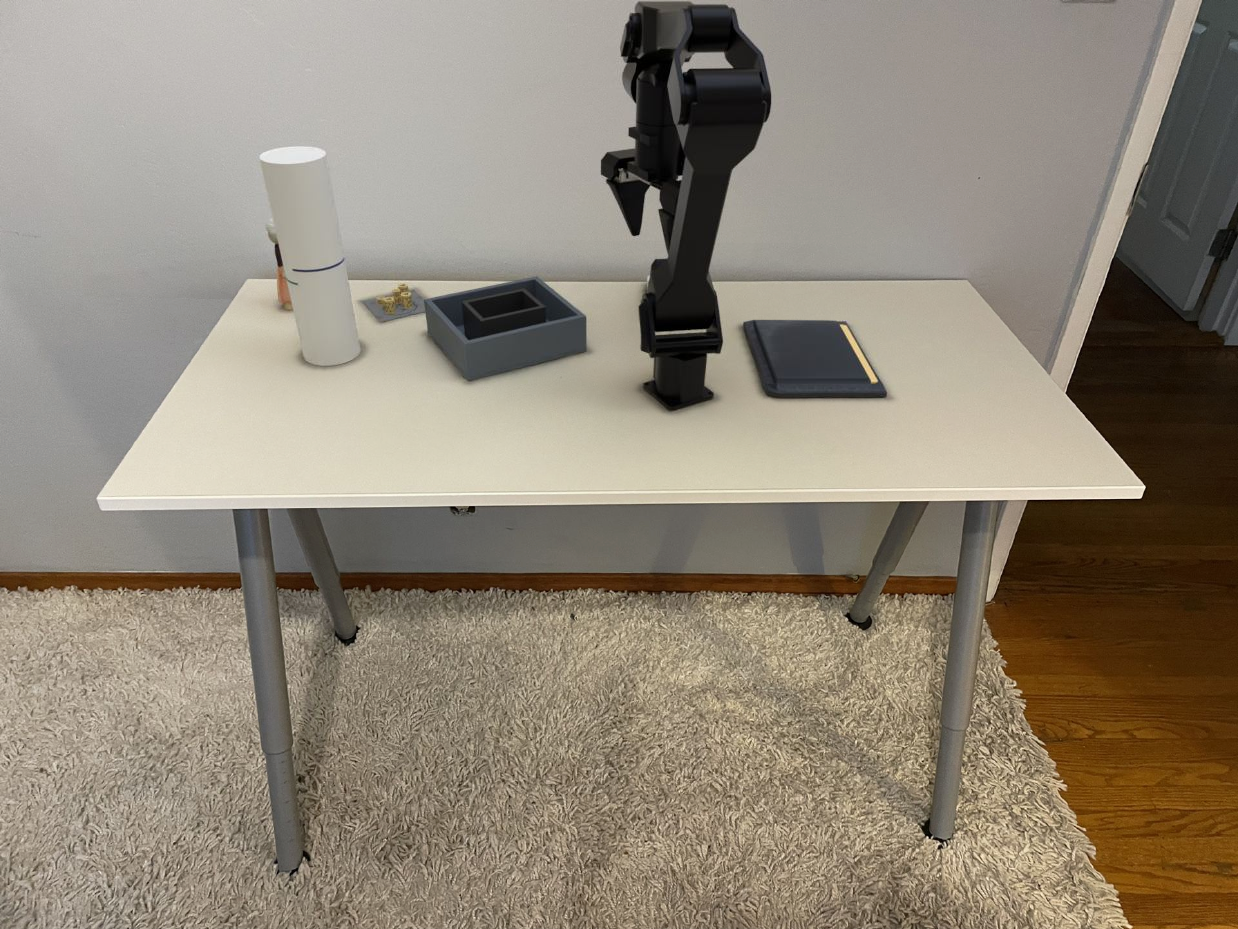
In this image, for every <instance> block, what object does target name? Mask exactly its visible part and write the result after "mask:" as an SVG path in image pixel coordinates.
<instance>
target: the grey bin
mask: <svg viewBox="0 0 1238 929" xmlns="http://www.w3.org/2000/svg"><path fill="white" fill-rule="evenodd" d="M520 289H525V290H527V291H528V292H529V293H530V294H531V295H532V296H534V297H535V298H536V299H537V300H538V301H539V302H541V303H542V304H543V305H544V306H545V307H546V323H542V324H538V325H533V326H529V327H525V328H520V329H516V330H512V331H507V332H503V333H499V334H494V335H490V336H485V337H481V338H477V339H472V340H468V339H467V337H466V336H465V331H464V321H463V310H462V301H467V300H472V299H476V298H481V297H486V296H491V295H496V294H500V293H505V292H510V291H515V290H520ZM423 299H424V305H425V312H424V313H425V320H426V328H427V335H428V336H429V337H430V338H431V339H432V340H433V342H434V343H435V345H437V346H438V347H439V349H440V350H441V351H442V352H443V353H444V354H445V355H446V357H447V358H448V359H449V360H450V361H451V362H452V364H453V365H454V366H455V368H456V369H458V371H459V372H460V373H461V375H463V376H464V378H465V379H466V380H467V381H468V382H471V381H474V380H478V379H482V378H486V377H490V376H494V375H498V374H503V373H507V372H510V371H515V370H518V369H522V368H527V367H530V366H534V365H538V364H542V363H545V362H550V361H554V360H558V359H561V358H566V357H570V356H574V355H579V354H583V353H586V352H587V350H588V348H587V315H586V314H585V313H583V312H582V311H581V310H579V309H578V308H577V307H576V306H574V305H573V304H572V303H571V302H570V301H568V300H567V299H566V298H564V297H563V296H562V295H561V294H559V292H557V291H556V290H554V289H553V287H551V286H549V285H548V284H547V283H546V282H544V280H542V279H541V278H540V277H539V276H537V275H536V276H532V277H527V278H522V279H517V280H511V281H507V282H502V283H496V284H492V285H488V286H483V287H477V288H472V289H468V290H463V291H458V292H453V293H448V294H444V295H443V294H442V295H438V296H432V297H429V298H423Z"/></svg>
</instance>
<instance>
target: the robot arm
mask: <svg viewBox="0 0 1238 929" xmlns="http://www.w3.org/2000/svg"><path fill="white" fill-rule="evenodd" d="M619 50H620V57H621V58H622V60H623V62H624V63H625V66H624V68H623V71H622V73H621V81H622V86H623V88H624V90H625V92H626V94H627V95H628V96H629V97H630V98H631V100H632V102H634V104H636V105H635V126H630V127H628V134H627V135H628V137H630V138H631V139H633V140H634V148H627V149H619V150H613V151H606V153H604V156H603V157H602V158H601V159H600V175H601V176H603V178H604V177H605V178H606V179H605V184H606V185H608V187H609V189H610V191H611V192H612V195H613V197H614V199H615V201H616V204H617V205H618V207H619V210H620V212H621V214H622V217H623V219H624V221H625V224H626V225H627V228H628V230H629V232H630V235H631V236H632V237H638V236H640V235H641V231H642V223H643V217H644V209H645V199H646V193H647V192H648V190H649V189H650V187H652V188H655V189H657V190H658V191H659V198H658V199H659V200H658V201H659V203H660V205H661V208H658V210H657V212H658V216H659V221H660V225H661V230H662V234H663V240H664V245H665V249H666V253H667V258H655V259H654V260H653V261H652V263H651V265H650V271H649V276H650V278H649V281H648V288H647V287H646V292H643V293H642V296H641V300H640V304H639V305H638V307H637V308H638V321H639V330H640V331H639V332H640V333H639V334H640V345H639V346H640V351H641V352H643V353H645V354H648V356H649V358H650V359H653V372H652V373H653V374H652V375H653V376H652V377H653V379H652V380H648V381H645V382H643V383H642V388H643V389H644V390H645V391H646V392H648V393H649V394H650V395H651V396H652V397H654V399H656V400H657V401H658V402H660V404H661V405H663V406H664V407H665V408H666V409H668V410H670V411H673V410H674V411H675V410H677V409H680V408H681V409H682V408H684V407H687V406H690V405H694V404H697V403H700V402H701V403H702V402H704V401H708V400H710V399H713V398H714V396H715V393H714V392H713V391H712V390H711V389H710V388H709V387H707V386H706V385H705V384H706V383H705V382H706V373H707V361H708V355H709V354H715V355H720V354H721V353H722V350H723V344H724V338H723V330H722V322H721V315H720V314H721V313H720V308H719V307H720V306H719V301H718V294H717V291H716V289H715V287H714V283H713V280H712V277H711V274H710V267H711V262H712V258H713V253H714V250H715V245H716V241H717V237H718V234H719V228H720V224H721V220H722V215H723V212H724V207H725V202H726V198H727V194H728V189H729V185H730V181H731V177H732V174H733V171H734V168H736V167H737V166H738V165H739V164H740V163H741V162H742V161H743V160H744V159H746V158H747V157H748V156H749V155H750V154H751V153H752V152H753V151H754V150H755V149H756V146H757V144H758V141H759V138H760V136H761V133H762V130H763V127H764V125H765V123H767V121H768V120H769V118H770V114H771V108H772V90H771V89H772V88H771V84H770V79H769V75H768V70H767V67H766V66H767V65H766V61H765V56H764V54H763V52H762V51H761V50H760V49H759V48H758V46H756V45H755V43H754V42H753V41H752V40H751V39H750V38H749V37H748V35H746V33H744V31H742V29H741V28H740V25H739V20H738V14H737V11H736V8H734V7H733V6H731V7H729V6H728V5H727V4H726V3H720V4H719V3H716V4H715V3H713V4H712V3H711V4H709V3H707V4H706V3H704V4H703V3H698V4H697V3H696V4H695V3H693V2H692V1H689V0H688V1H683V0H681V1H680V0H679V1H677V0H676V1H675V0H673V1H668V0H666V1H665V0H663V1H662V0H661V1H660V0H659V1H658V0H657V1H653V0H652V1H649V0H648V1H644V0H643V1H639V0H638V1H637V2H636V4H635V6H634V12H630V13H629V15H628V20H627V22H626V23H625V25H624V28H623V32H622V36H621V41H620V46H619ZM700 53H701V54H703V53H704V54H708V53H709V54H711V53H712V54H713V53H714V54H715V53H723V55H724V58H725V60H726V62H727V63H728V64H729V65H730V66H731V67H713V68H712V67H711V68H706V67H705V68H689V69H687V71H683V68H682V67H683V65H684V64H685V63H690V61H691V60H692V58H693V55H695V54H700ZM679 177H681V179H679ZM678 179H679V180H678ZM701 330H702V331H701ZM703 330H705V331H703ZM682 331H683V333H667V332H682ZM684 331H699V332H685V333H684ZM700 331H701V332H700ZM665 332H666V333H665ZM656 333H665V334H656Z"/></svg>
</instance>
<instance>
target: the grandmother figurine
mask: <svg viewBox="0 0 1238 929" xmlns="http://www.w3.org/2000/svg"><path fill="white" fill-rule="evenodd" d="M265 229H266V231H267V237H268V239H269V240H270V241H271V242H272V243H273V244H274V255H275V259H276V265H277V268H276V292H277V300H278V302H279V303H280V304H282V303H284V304H283V309H284V310H286V311H293V307H292V302H291V298H290V293H289V289H288V284H287V280H286V275H285V271H284V266H283V262H282V257H281V253H280V248H279V244H278V239H277V235H276V230H275V226H274V221H273V217H272V216H271V217H269V218H268V219H267V220H266V222H265Z"/></svg>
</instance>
